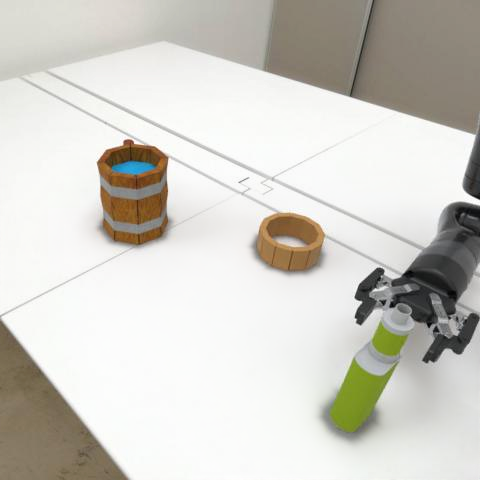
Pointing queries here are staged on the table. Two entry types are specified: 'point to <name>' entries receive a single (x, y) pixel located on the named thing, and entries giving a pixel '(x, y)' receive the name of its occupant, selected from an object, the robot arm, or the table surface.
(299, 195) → the table surface
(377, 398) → the vape
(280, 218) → the wooden ring
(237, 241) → the table surface
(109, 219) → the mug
